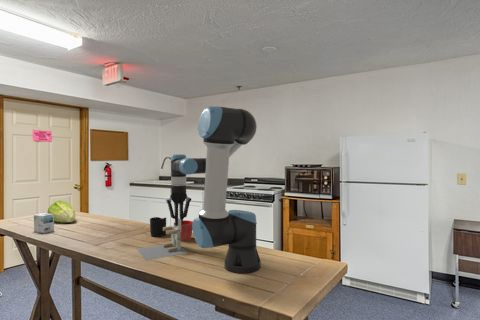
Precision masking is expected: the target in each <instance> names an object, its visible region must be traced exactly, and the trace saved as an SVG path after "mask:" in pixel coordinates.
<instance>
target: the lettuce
mask: <svg viewBox="0 0 480 320" xmlns="http://www.w3.org/2000/svg"><path fill="white" fill-rule="evenodd" d="M46 214H54V223H59V222H60V223H61V224H62V223H72V222H74V221H75V220H76V211H75V209H74V208H73V206H72V205H71V204H69V203H68V202H66V201H64V200H58V201H56V202H54V203H52V204H50V205H49V207H48V208H47V213H46ZM60 223H59V224H60Z"/></svg>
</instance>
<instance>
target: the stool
mask: <svg viewBox="0 0 480 320" xmlns="http://www.w3.org/2000/svg"><path fill="white" fill-rule="evenodd" d="M163 231H166V234H167V235H171V237H170V238H171V241H170V242H166V243H162V245H163V247H164V248H165V247H171V248H167V251H168V252H173V251H179V250H181V247H182V245H181V244H182V243H181V242H182V241H181V238H180V229H178V228H177V227H175V226H174V225H171V226H166V227H163ZM172 246H173V247H172Z"/></svg>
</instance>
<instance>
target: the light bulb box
mask: <svg viewBox="0 0 480 320" xmlns="http://www.w3.org/2000/svg"><path fill="white" fill-rule="evenodd" d="M33 232H34V233H35V232H36V233H39V234H40V233H41V234H46V233H51V232H55V221H54V214H48V213H45V212H43V213H37V214H36V213H35V214H33Z"/></svg>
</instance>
